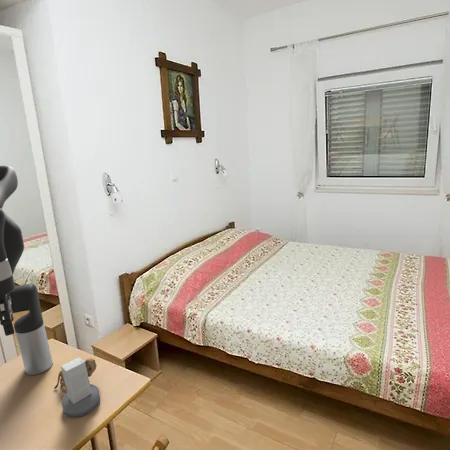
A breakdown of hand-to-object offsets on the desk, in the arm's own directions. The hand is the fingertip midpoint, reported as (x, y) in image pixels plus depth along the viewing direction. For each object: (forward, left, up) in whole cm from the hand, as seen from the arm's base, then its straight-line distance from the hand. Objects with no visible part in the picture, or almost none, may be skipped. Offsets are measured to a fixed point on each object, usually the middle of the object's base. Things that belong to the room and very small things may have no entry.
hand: (9, 327), depth 101 cm
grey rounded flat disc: (+6, +14, -30) cm, 34 cm away
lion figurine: (-5, +15, -30) cm, 34 cm away
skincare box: (+6, +14, -27) cm, 31 cm away
